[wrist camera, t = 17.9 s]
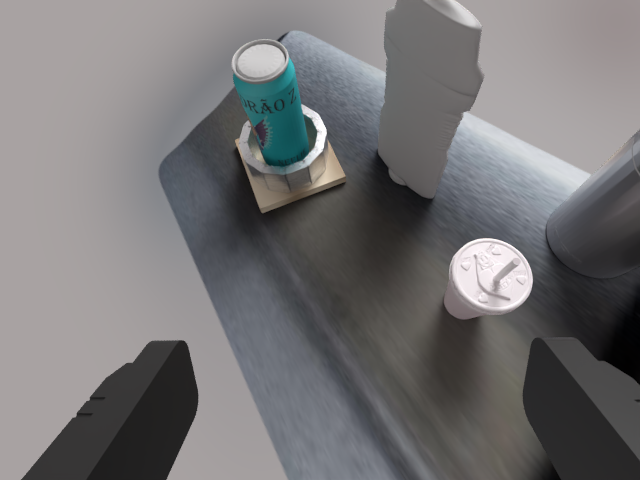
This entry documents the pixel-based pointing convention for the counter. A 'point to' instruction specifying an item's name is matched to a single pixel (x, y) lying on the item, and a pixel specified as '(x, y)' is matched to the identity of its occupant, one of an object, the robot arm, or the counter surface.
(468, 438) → the counter surface
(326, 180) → the base board
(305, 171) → the collar
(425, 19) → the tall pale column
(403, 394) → the counter surface
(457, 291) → the smoothie
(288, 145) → the beverage can
